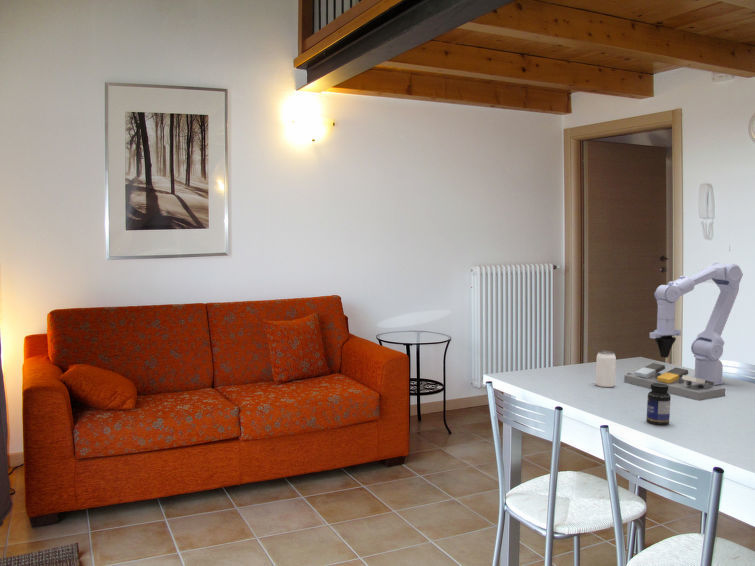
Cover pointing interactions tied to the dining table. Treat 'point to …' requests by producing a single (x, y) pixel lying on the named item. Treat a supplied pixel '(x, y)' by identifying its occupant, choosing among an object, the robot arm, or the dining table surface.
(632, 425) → the dining table surface
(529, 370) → the dining table surface
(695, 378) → the rocker
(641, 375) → the rocker
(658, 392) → the pill bottle
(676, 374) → the block
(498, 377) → the dining table surface
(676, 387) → the rocker switch panel
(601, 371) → the can
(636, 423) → the dining table surface
